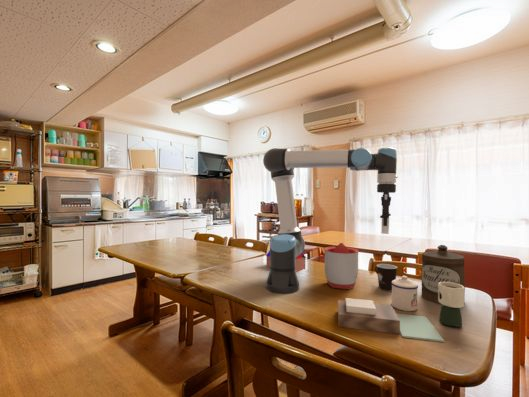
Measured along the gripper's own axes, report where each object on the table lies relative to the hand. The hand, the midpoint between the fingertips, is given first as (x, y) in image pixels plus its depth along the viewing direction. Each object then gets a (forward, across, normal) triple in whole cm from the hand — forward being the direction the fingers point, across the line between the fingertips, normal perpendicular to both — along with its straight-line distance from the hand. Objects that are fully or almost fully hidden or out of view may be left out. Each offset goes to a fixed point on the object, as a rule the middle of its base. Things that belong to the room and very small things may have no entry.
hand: (385, 231), depth 121 cm
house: (+27, +17, +52) cm, 61 cm away
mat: (+26, -32, -10) cm, 43 cm away
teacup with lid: (+26, -14, -8) cm, 31 cm away
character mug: (+26, -25, -21) cm, 42 cm away
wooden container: (+26, +1, -22) cm, 34 cm away
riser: (+26, -35, +5) cm, 44 cm away
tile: (+22, -35, +7) cm, 42 cm away
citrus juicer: (+27, 0, +18) cm, 32 cm away
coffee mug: (+26, +6, -1) cm, 27 cm away
